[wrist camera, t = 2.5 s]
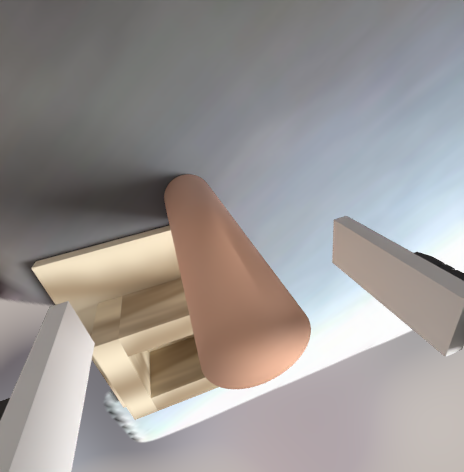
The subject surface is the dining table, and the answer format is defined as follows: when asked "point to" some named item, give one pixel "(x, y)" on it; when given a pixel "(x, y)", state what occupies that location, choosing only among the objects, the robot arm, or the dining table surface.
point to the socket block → (132, 317)
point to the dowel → (231, 292)
